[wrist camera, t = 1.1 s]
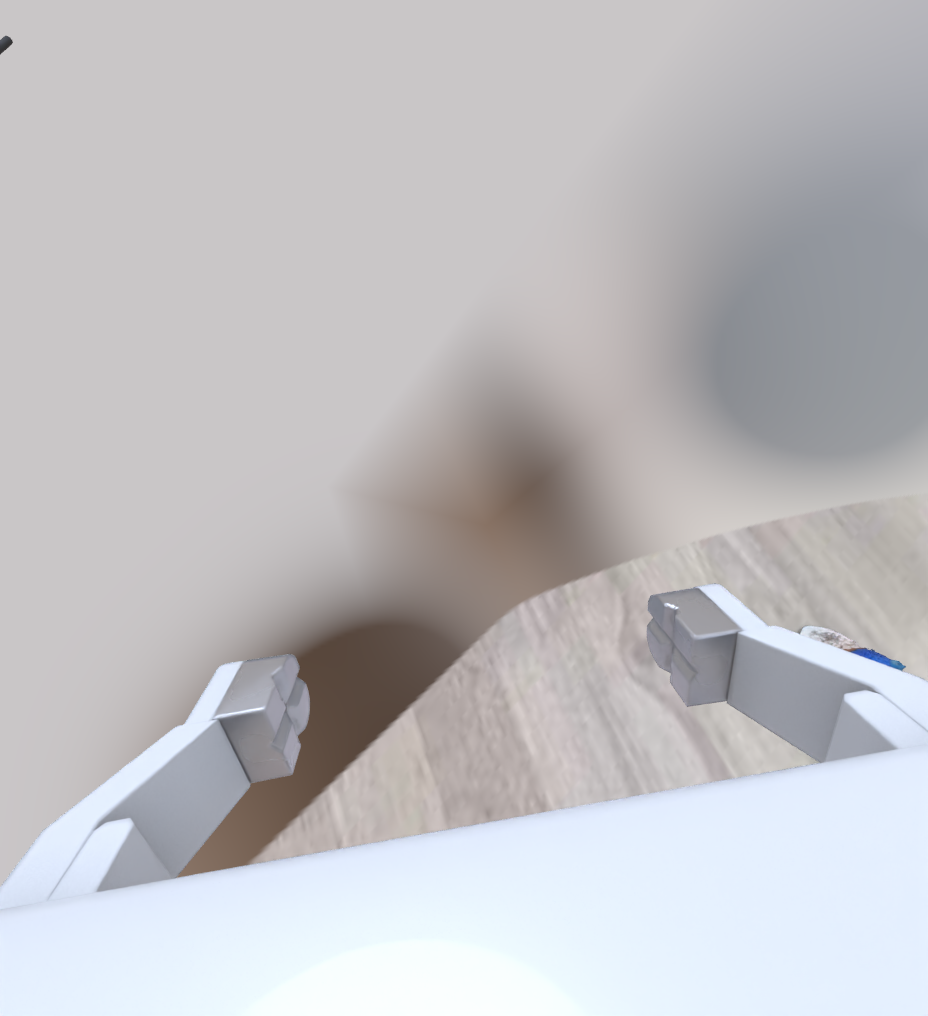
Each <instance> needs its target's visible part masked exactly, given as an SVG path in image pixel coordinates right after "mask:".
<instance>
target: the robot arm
mask: <svg viewBox="0 0 928 1016" xmlns="http://www.w3.org/2000/svg"><path fill="white" fill-rule="evenodd" d="M12 43H13V42H12V40H11V38H10V37H8V36H5V37H3V38H2V39H1V40H0V54H1V53H2V52H4V50H6V49H7V48H8V47H9V46H10V45H11V44H12ZM648 611H649V612H650V614H651V615H652V616H653V619H652V620H651V621H650V623H649V624H648V625H647V641H648V645H649V649H650V652H651V654H652V656H653V658H654V660H655V661H656V663H657V664H658V666H659V667H660V668H662V669H664V670H666V671H667V672H669V673H671V676H670V683H671V685H672V686H673V687H674V689H675V690H676V692H677V693H678V695H679V696H680V697H681V699H682V700H683V702H684V703H685V704H686V706H687V707H688V706H695V705H702V704H709V703H716V702H723V701H727V703H728V704H729V705H731V706H732V707H734V708H735V709H737V710H739V711H740V712H742V713H743V714H745V715H746V716H748V717H750V718H751V719H753V720H754V721H756V722H757V723H759V724H761V725H762V726H764V727H765V728H767V729H768V730H770V731H771V732H773V733H775V734H776V735H778V736H779V737H781V738H782V739H784V740H786V741H787V742H789V743H790V744H792V745H793V746H795V747H797V748H798V749H800V750H801V751H803V752H804V753H806V754H807V755H809V756H811V757H812V758H814V759H815V760H817V761H818V762H820V763H817V764H811V765H806V766H800V767H795V768H789V769H783V770H778V771H772V772H767V773H761V774H755V775H750V776H744V777H738V778H733V779H727V780H722V781H716V782H710V783H705V784H699V785H694V786H688V787H683V788H677V789H671V790H666V791H660V792H655V793H649V794H643V795H638V796H632V797H627V798H621V799H616V800H610V801H604V802H599V803H593V804H588V805H582V806H577V807H571V808H565V809H560V810H554V811H549V812H543V813H537V814H532V815H526V816H520V817H515V818H509V819H504V820H498V821H492V822H487V823H481V824H476V825H470V826H464V827H459V828H453V829H448V830H442V831H436V832H431V833H425V834H420V835H414V836H408V837H403V838H397V839H391V840H386V841H380V842H375V843H369V844H364V845H358V846H352V847H347V848H341V849H336V850H330V851H324V852H319V853H313V854H308V855H302V856H296V857H291V858H285V859H280V860H274V861H268V862H263V863H257V864H252V865H246V866H240V867H235V868H230V869H224V870H218V871H213V872H207V873H202V874H196V875H190V876H185V877H179V878H176V877H177V876H178V875H179V874H180V872H181V871H182V870H183V869H184V867H185V866H186V865H187V864H188V863H189V861H190V860H191V859H192V857H193V856H194V855H195V854H196V853H197V851H198V850H199V849H200V848H201V846H202V845H203V844H204V843H205V842H206V840H207V839H208V838H209V837H210V835H211V834H212V833H213V832H214V830H215V829H216V828H217V827H218V826H219V824H220V823H221V822H222V821H223V819H224V818H225V817H226V816H227V814H228V813H229V812H230V811H231V809H232V808H233V807H234V806H235V805H236V803H237V802H238V801H239V800H240V798H241V797H242V796H243V795H244V793H245V792H246V791H247V790H248V788H249V787H250V786H251V785H250V783H254V782H259V781H263V780H269V779H273V778H279V777H284V776H289V775H292V774H293V771H294V767H295V764H296V760H297V757H298V754H299V750H300V747H301V744H300V742H299V739H298V737H297V736H298V735H299V734H300V733H301V732H302V731H303V730H304V729H305V728H306V726H307V722H308V718H309V710H310V699H309V693H308V689H307V686H306V683H305V682H303V681H302V680H301V679H299V678H298V677H297V674H298V671H299V668H300V667H299V664H298V662H297V660H296V657H295V656H293V655H291V654H288V655H281V656H273V657H266V658H259V659H252V660H247V661H240V662H233V663H227V664H223V665H222V666H220V667H219V668H218V669H217V671H216V672H215V674H214V676H213V677H212V679H211V681H210V682H209V684H208V686H207V687H206V689H205V691H204V692H203V694H202V696H201V698H200V699H199V701H198V702H197V704H196V706H195V707H194V709H193V711H192V712H191V714H190V716H189V717H188V719H187V721H186V722H185V724H184V725H181V726H176V727H175V728H174V729H172V730H171V731H170V732H169V733H167V734H166V735H165V736H163V737H162V738H161V739H160V740H158V741H157V742H156V743H154V744H153V745H152V746H151V747H149V748H148V749H147V750H145V751H144V752H143V753H142V754H140V755H139V756H138V757H136V758H135V759H134V760H133V761H132V762H130V763H129V764H128V765H126V766H125V767H124V768H122V769H121V770H120V771H119V772H117V773H116V774H115V775H113V776H112V777H111V778H110V779H108V780H107V781H106V782H104V783H103V784H102V785H101V786H99V787H98V788H97V789H95V790H94V791H93V792H92V793H90V794H89V795H88V796H87V797H85V798H84V799H83V800H81V801H80V802H79V803H78V804H76V805H75V806H74V807H72V808H71V809H70V810H69V811H67V812H66V813H65V814H64V815H62V816H61V817H60V818H58V819H57V820H56V821H55V822H53V823H52V824H51V825H49V826H48V827H47V828H45V829H44V830H43V831H42V832H41V834H40V835H39V836H38V838H37V839H36V840H35V842H34V843H33V844H32V846H31V847H30V848H29V850H28V851H27V852H26V854H25V855H24V856H23V858H22V859H21V860H20V862H19V863H18V864H17V866H16V867H15V868H14V870H13V871H12V872H11V874H10V875H9V876H8V878H7V879H6V880H5V882H4V883H3V884H2V886H1V887H0V1016H928V682H927V681H926V680H925V679H923V678H920V677H917V676H915V675H912V674H909V673H906V672H903V671H901V670H898V669H895V668H892V667H890V666H887V665H884V664H881V663H878V662H876V661H873V660H870V659H867V658H865V657H862V656H859V655H856V654H854V653H851V652H848V651H845V650H842V649H840V648H837V647H834V646H831V645H829V644H826V643H823V642H820V641H817V640H815V639H812V638H809V637H806V636H804V635H801V634H798V633H795V632H792V631H790V630H787V629H784V628H781V627H779V626H772V627H769V626H768V625H767V624H766V623H764V622H763V621H762V620H761V619H760V618H759V617H757V616H756V615H755V614H754V613H753V612H752V611H750V610H749V609H748V608H747V607H746V606H745V605H744V604H742V603H741V602H740V601H739V600H738V599H737V598H735V597H734V596H733V595H732V594H731V593H730V592H728V591H727V590H726V589H725V588H724V587H723V586H721V585H719V584H716V583H714V584H709V585H704V586H698V587H694V588H691V589H685V590H679V591H673V592H667V593H661V594H656V595H651V596H650V598H649V601H648Z"/></svg>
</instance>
